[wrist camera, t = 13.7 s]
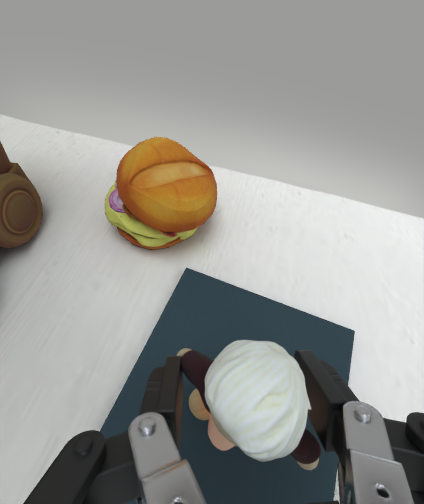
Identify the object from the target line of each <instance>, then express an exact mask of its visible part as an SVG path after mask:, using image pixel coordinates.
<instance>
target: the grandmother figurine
mask: <svg viewBox="0 0 424 504" xmlns="http://www.w3.org/2000/svg"><path fill="white" fill-rule="evenodd" d="M180 355H181V356H182V357H181V369H182V371H183V373H184V375H185V376H186V378H187V379H188V380H189V381H190V382H191V383H192V384H193V385H194V386H195V387H196V389H195V390H194V391H193V392H192V393H191V395H190V397H189V407H190V410H191V412H192V413H193V415H194V416H195V417H196V418H198V419H200V420H209V423H208V435H209V438H210V440H211V442H212V444H213V445H214V446H215V447H216V448H218V449H220V450H222V451H226V450H229V449H230V448H232V447H234V446H236V447H239V448H240V449H241V450H242V451H243V452H244V453H245V454H246V455H248V456H250V457H251V458H253V459H256V460H258V461H263V462H265V461H271V460H274V459H276V458H282V457H285V456H287V455H288V454H290V455H291V456H292V457H293V458H294V459H295V460H296V461H297V463H298V464H299V465H300V466H301V467H302V468H304V469H306V470H313V469H314V468H316V466H317V465H318V462H319V457H320V455H321V447H320V445H319V442H318V440H317V439H316V438H315V437H314V435H313V434H312V433H311V432H309V431H308V430H307V429H305V427H306V421H307V413H308V409H310V410H311V406H310V402H309V399H308V395H307V391H306V387H305V378H304V375H303V372H302V370H301V369H300V367H299V364H298V362H297V361H296V360H295V359H294V358H293V357H292V356H290V355H289V354H288V353H287V351H286V350H285V349H284V348H283V347H281V346H279V345H278V344H276V343H275V342H270V341H252V340H238V341H234V342H232V343H231V344H229V345H228V346H227V347H225V348H224V350H223V351H222V352H221V353H220V354H219V355H218V356H217V357H216V358H215V360H214V362H213V361H212V360H211V359H210V358H209V357H207V356H205V355H203V354H201V353H200V352H198V351H196V350H191V349H188V348H184V349H182V350H180V351H179V352H178V354H177V356H180Z"/></svg>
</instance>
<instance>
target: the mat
mask: <svg viewBox="0 0 424 504" xmlns="http://www.w3.org/2000/svg"><path fill="white" fill-rule="evenodd" d="M354 333H355V331H353V330H351V329H348V328H345V327H343V326H340V325H337V324H335V323H332V322H329V321H327V320H324V319H321V318H319V317H316V316H313V315H311V314H308V313H306V312H303V311H300V310H298V309H295V308H292V307H290V306H287V305H284V304H282V303H279V302H276V301H274V300H271V299H268V298H266V297H263V296H260V295H258V294H255V293H252V292H250V291H247V290H244V289H242V288H239V287H236V286H234V285H231V284H228V283H226V282H223V281H220V280H218V279H215V278H213V277H210V276H207V275H205V274H202V273H199V272H197V271H194V270H191V269H189V268H186V269H185V271H184V273H183V275H182V277H181V279H180V281H179V283H178V285H177V286H176V288H175V290H174V292H173V294H172V296H171V298H170V300H169V302H168V303H167V305H166V307H165V309H164V311H163V313H162V315H161V317H160V319H159V321H158V322H157V324H156V326H155V328H154V330H153V332H152V334H151V336H150V338H149V339H148V341H147V343H146V345H145V347H144V349H143V351H142V353H141V355H140V356H139V358H138V360H137V362H136V364H135V366H134V368H133V370H132V372H131V373H130V375H129V377H128V379H127V381H126V383H125V385H124V387H123V389H122V391H121V392H120V394H119V396H118V398H117V400H116V402H115V404H114V406H113V408H112V409H111V411H110V413H109V415H108V417H107V419H106V421H105V423H104V425H103V426H102V428H101V430H100V432H101V433H102V434H103V435H104V437H105V439H107V438H110V437H113V436H116V435H118V434H121V433H123V432H125V431H126V430H128V428H129V426H130V424H131V422H132V421H133V420H134V419H135V418H136V417H138V415H139V411H140V408H141V404H142V400H143V396H144V393H145V389H146V385H147V382H148V378H149V375H150V373H151V372H152V371H153V370H154V369H155V368H156V367H165V361H166V357H167V356H177V354H178V352H179V351H180V350H182V349H184V348H188V349H191V350H196V351H198V352H200V353H201V354H203V355H205V356H207V357H209V358H210V359H211V360H212V361H213V362H214V360H215V358H216V357H217V356H218V355H219V354H220V353H221V352H222V351H223V350H224V348H225V347H227V346H228V345H229V344H231V343H232V342H234V341H238V340H252V341H270V342H275V343H276V344H278V345H279V346H281V347H283V348H284V349H285V350H286V351H287V353H288V354H289V355H290V356H292V357H293V358H294V354H295V351H296V350H312V351H313V353H314V354H315V356H316V357H317V358H318V360H325V361H326V362H327V363H329V364H330V365H332V366H333V367H334V369H335V370H336V371H337V373H338V375H340V376H341V378H342V379H343V381H344V382H345V383H346V384H347V386H348V380H349V372H350V364H351V357H352V349H353V341H354ZM195 389H196V387H195V386H194V385H193V384H192V383H191V382H190V381H189V380H188V379H187V378H186V376H185V375H184V373H183V404H182V417H181V431H180V444H179V454H180V456H181V459H182V460H183V459H187V461H188V462H189V464H190V467H191V469H192V471H193V474H194V476H195V478H196V480H197V483H198V485H199V487H200V490H201V492H202V494H203V496H204V499H205V501H206V503H207V504H306V503H311V502H325V501H333V498H334V491H335V483H336V475H337V467H338V455H337V453H336V452H328V453H326V452H325V450H324V448H323V446H322V444H321V442H320V440H319V438H318V436H317V434H316V431H315V429H314V427H313V425H312V423H311V421H310V419H309V417H308V415H307V421H306V427H305V429H307V430H308V431H309V432H311V433H312V434H313V435H314V437H315V438H316V439H317V440H318V442H319V445H320V447H321V455H320V457H319V462H318V465H317V466H316V468H314V469H313V470H306V469H304V468H302V467H301V466H300V465H299V464H298V463H297V461H296V460H295V459H294V458H293V457H292V456H291V455H290V454H288V455H287V456H285V457H282V458H276V459H274V460H271V461H265V462H263V461H258V460H256V459H253V458H251V457H250V456H248V455H246V454H245V453H244V452H243V451H242V450H241V449H240V448H239V447H236V446H234V447H232V448H230V449H229V450H226V451H222V450H220V449H218V448H216V447H215V446H214V445H213V444H212V442H211V440H210V438H209V435H208V423H209V420H200V419H198V418H196V417H195V416H194V415H193V413H192V412H191V410H190V407H189V397H190V395H191V393H192V392H193V391H194V390H195ZM126 504H137V503H136V499H135V500H133V501H130V502H128V503H126Z"/></svg>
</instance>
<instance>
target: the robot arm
mask: <svg viewBox="0 0 424 504" xmlns="http://www.w3.org/2000/svg"><path fill="white" fill-rule="evenodd" d="M181 357H182V356H181V355H180V356H167V357H166V361H165V367H156V368H155V369H154V370H153V371H152V372H151V373H150V375H149V378H148V382H147V385H146V389H145V393H144V396H143V400H142V404H141V408H140V411H139V415H138V417H136V418H135V419H134V420H133V421H132V422H131V424H130V426H129V428H128V430H126V431H125V432H123V433H121V434H118V435H116V436H113V437H110V438H107V439H105V437H104V435H103V434H102V433H101V432H99V431H95V430H90V431H85V432H82V433H80V434H78V435H76V436H75V437H73V438H72V439H71V440H70V441H69V442H68V443H67V444H66V445H65V446H64V448H63V449H62V451H61V452H60V453H59V455H58V456H57V457H56V459H55V460H54V462H53V463H52V464H51V466H50V467H49V469H48V470H47V471H46V473H45V474H44V476H43V477H42V478H41V480H40V481H39V483H38V484H37V485H36V487H35V488H34V490H33V491H32V492H31V494H30V495H29V497H28V498H27V499H26V501H25V502H24V503H23V504H126V503H128V502H130V501H133V500H135V499H136V503H137V504H207V503H206V501H205V499H204V496H203V494H202V492H201V490H200V487H199V485H198V483H197V480H196V478H195V476H194V474H193V471H192V469H191V467H190V464H189V462H188V461H187V459H183V460H182V459H181V456H180V454H179V444H180V431H181V417H182V404H183V371H182V369H181ZM294 359H295V360H296V361H297V362H298V364H299V367H300V369H301V370H302V372H303V375H304V378H305V387H306V391H307V395H308V399H309V402H310V406H311V410H310V409H308V413H307V415H308V417H309V419H310V421H311V423H312V425H313V427H314V429H315V431H316V434H317V436H318V438H319V440H320V442H321V444H322V446H323V448H324V450H325V452H326V453H328V452H336V453H337V455H338V480H339V496H340V504H424V413H419V412H415V413H411V414H409V415H408V416H407V421H406V423H405V422H400V421H394V420H389V419H385V418H383V417H382V415H381V414H380V413H379V412H378V411H377V410H376V409H375V408H374V407H372V406H370V405H368V404H366V403H363V402H360V401H359V400H358V399H357V397H356V396H355V395H354V393H353V392H352V391H351V389H350V388H349V387H348V386H347V384H346V383H345V382H344V381H343V379H342V378H341V376H340V375H338V373H337V371H336V370H335V369H334V367H333V366H332V365H330V364H329V363H327V362H326V361H325V360H318V358H317V357H316V356H315V354H314V353H313V351H312V350H296V351H295V354H294ZM306 504H339V502H338V501H325V502H311V503H306Z"/></svg>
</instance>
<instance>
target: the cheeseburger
mask: <svg viewBox="0 0 424 504" xmlns="http://www.w3.org/2000/svg"><path fill="white" fill-rule="evenodd" d="M216 201H217V184H216V181H215V178H214V175H213V172H212V170H211V169H210V168H209V167H208V166H207V165H206V164H205V163H203V162H202V161H200V160H199V159H198V158H197V157H195V156H194V155H193V154H192V153H191V152H189V151H188V150H187V149H186V148H185V147H183V146H182V145H180V144H179V143H178V142H175V141H173V140H170V139H168V138H162V137H154V138H151V139H148V140H145V141H143V142H140V143H139V144H137V145H136V146H135V147H133V148H132V149H131V150H130V151H128V152H127V153H126V154H125V156H124V157H123V158H122V160H121V161H120V164H119V166H118V169H117V180H116V181H115V183H114V185H113V186H112V187H111V188H110V190H109V192H108V194H107V196H106V199H105V214H106V217H107V219H108V220H109V222H110V223H111V224H112V225H114V226H116V227H117V229H118V230H119V232H120V234H121V235H122V236H124V237H125V238H126V239H127V240H129V241H130V242H131V243H132V244H134V245H137V246H140V247H144V248H147V249H159V248H168V247H170V246H172V245H175V244H177V243H179V242H181V241H183V240H184V239H187V238H189V237H190V236H191V235H193V234H194V233H195V232H196V231H197V229H198V227H199V226H201V225H202V224H204V223H205V222H206V221H207V220H208V218H209V217H210V216H211V215H212V214H213V212H214V209H215V207H216Z"/></svg>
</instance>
